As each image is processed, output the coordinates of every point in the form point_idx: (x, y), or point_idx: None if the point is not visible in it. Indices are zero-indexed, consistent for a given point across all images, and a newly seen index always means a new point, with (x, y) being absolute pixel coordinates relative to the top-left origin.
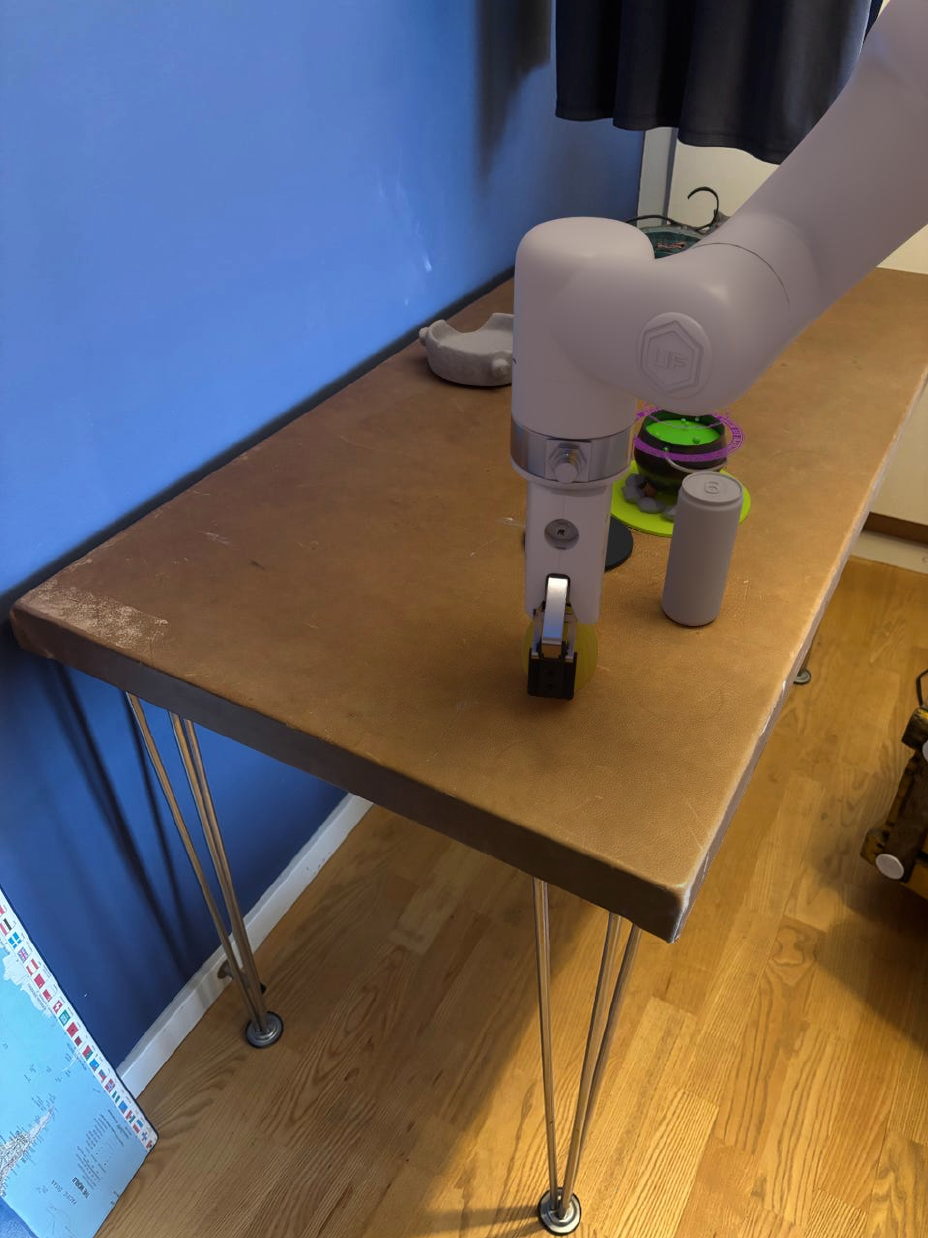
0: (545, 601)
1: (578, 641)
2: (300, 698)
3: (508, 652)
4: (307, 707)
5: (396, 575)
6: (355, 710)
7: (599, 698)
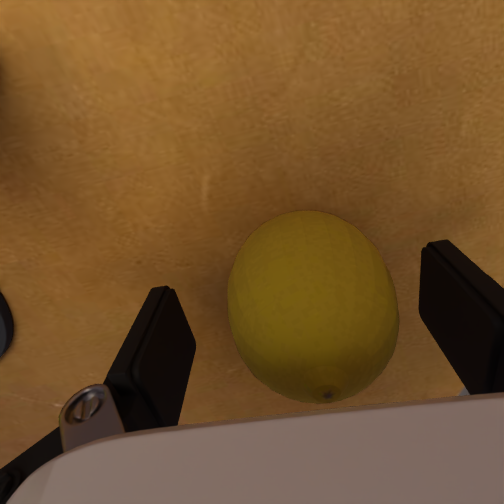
0: (188, 363)
1: (374, 306)
2: None
3: None
4: None
5: None
6: None
7: (287, 173)
